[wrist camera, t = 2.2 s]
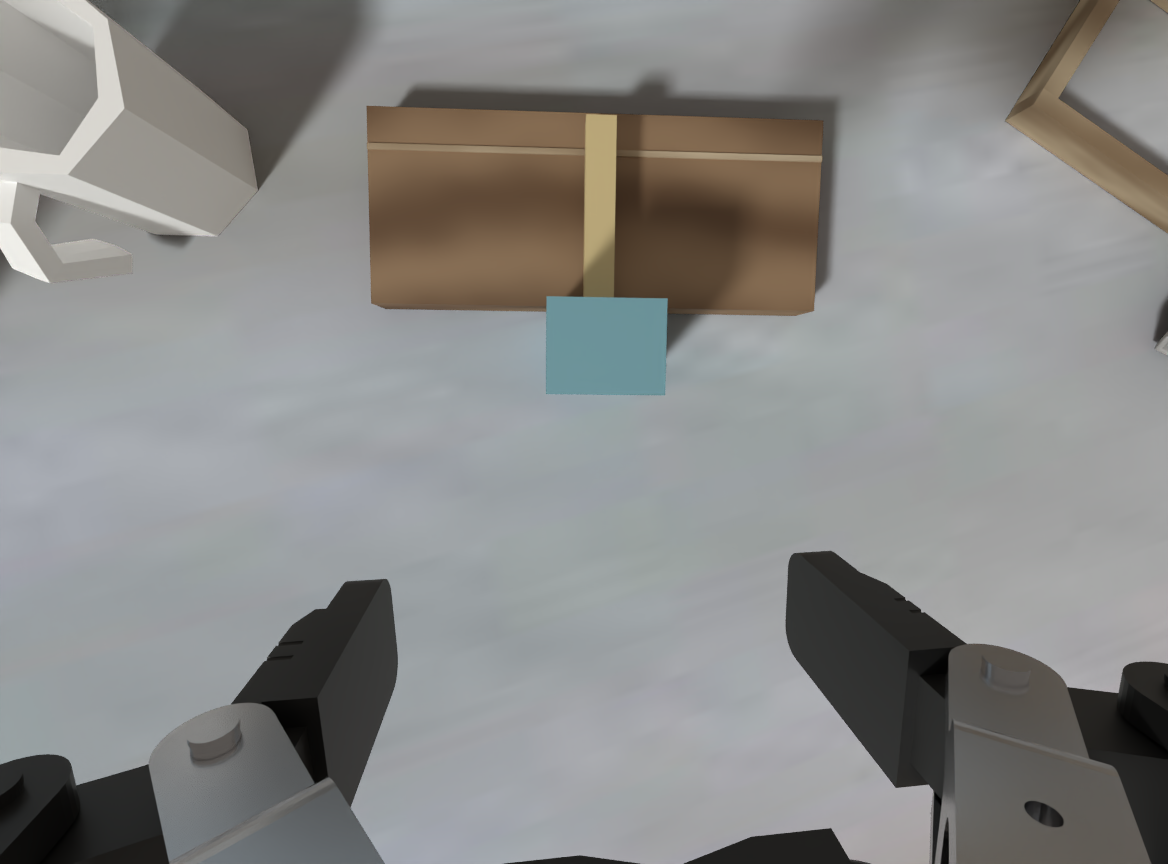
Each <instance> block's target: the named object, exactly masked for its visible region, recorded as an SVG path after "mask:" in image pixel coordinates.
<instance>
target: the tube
mask: <svg viewBox="0 0 1168 864" xmlns="http://www.w3.org/2000/svg"><path fill="white" fill-rule="evenodd" d="M1155 350H1157V351H1159V352H1161V353H1163V354H1165V355H1167V356H1168V332H1167V333H1166V334H1165V335H1164V336H1163V337H1162V338H1161V339H1160V340H1159V342H1158V343H1157V345H1156V347H1155Z"/></svg>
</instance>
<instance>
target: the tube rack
mask: <svg viewBox="0 0 1168 864" xmlns="http://www.w3.org/2000/svg"><path fill="white" fill-rule="evenodd" d="M1119 1H1120V0H1080V2H1079V3H1078V5H1077V6H1076V8H1075V10H1074V11H1073V13H1072V14H1071V16H1070V18H1069V19H1068V21H1067V22H1066V24H1065V26H1064V27H1063V29H1062V30H1061V32H1060V34H1059V35H1058V37H1057V38H1056V40H1055V42H1054V43H1053V45H1052V46H1051V48H1050V50H1049V51H1048V53H1047V54H1046V56H1045V58H1044V59H1043V61H1042V62H1041V64H1040V66H1039V67H1038V69H1037V71H1036V72H1035V74H1034V75H1033V77H1032V79H1031V80H1030V82H1029V83H1028V85H1027V87H1026V88H1025V90H1024V91H1023V93H1022V95H1021V96H1020V98H1019V99H1018V101H1017V103H1016V104H1015V106H1014V107H1013V109H1012V111H1011V112H1010V114H1009V115H1008V117H1007V119H1006V120H1005V121H1006V122H1007V123H1009V124H1010V125H1012V126H1013V127H1015V128H1016V129H1018V130H1019V131H1020V132H1022V133H1023V134H1025V135H1026V136H1028V137H1029V138H1031V139H1032V140H1033V141H1035V142H1036V143H1038V144H1039V145H1041V146H1042V147H1044V148H1045V149H1046V150H1048V151H1049V152H1051V153H1052V154H1054V155H1055V156H1057V157H1058V158H1059V159H1061V160H1062V161H1064V162H1065V163H1067V164H1068V165H1070V166H1071V167H1072V168H1074V169H1075V170H1077V171H1078V172H1080V173H1081V174H1083V175H1084V176H1085V177H1087V178H1088V179H1090V180H1091V181H1093V182H1094V183H1096V184H1097V185H1098V186H1100V187H1101V188H1103V189H1104V190H1106V191H1107V192H1109V193H1110V194H1111V195H1113V196H1114V197H1116V198H1117V199H1119V200H1120V201H1122V202H1123V203H1124V204H1126V205H1127V206H1129V207H1130V208H1132V209H1133V210H1135V211H1136V212H1137V213H1139V214H1140V215H1142V216H1143V217H1145V218H1146V219H1148V220H1149V221H1150V222H1152V223H1153V224H1155V225H1156V226H1158V227H1159V228H1161V229H1162V230H1163V231H1165V232H1166V233H1168V175H1166V174H1165V173H1163V172H1162V171H1161V170H1159V169H1158V168H1156V167H1155V166H1154V165H1152V164H1151V163H1149V162H1148V161H1146V160H1145V159H1144V158H1142V157H1141V156H1139V155H1138V154H1136V153H1135V152H1134V151H1132V150H1131V149H1129V148H1128V147H1127V146H1125V145H1124V144H1122V143H1121V142H1119V141H1118V140H1117V139H1115V138H1114V137H1112V136H1111V135H1109V134H1108V133H1107V132H1105V131H1104V130H1102V129H1101V128H1100V127H1098V126H1097V125H1095V124H1094V123H1092V122H1091V121H1090V120H1088V119H1087V118H1085V117H1084V116H1082V115H1081V114H1080V113H1078V112H1077V111H1075V110H1074V109H1072V108H1071V107H1070V106H1068V105H1067V104H1065V103H1064V102H1063V101H1061V100H1060V99H1058V98H1059V96H1060V95H1061V93H1062V91H1063V90H1064V88H1065V87H1066V85H1067V83H1068V82H1069V80H1070V79H1071V77H1072V75H1073V74H1074V72H1075V71H1076V69H1077V67H1078V66H1079V64H1080V63H1081V61H1082V59H1083V58H1084V56H1085V55H1086V53H1087V52H1088V50H1089V48H1090V47H1091V45H1092V44H1093V42H1094V40H1095V39H1096V37H1097V36H1098V34H1099V32H1100V31H1101V29H1102V28H1103V26H1104V24H1105V23H1106V21H1107V20H1108V18H1109V17H1110V15H1111V13H1112V12H1113V10H1114V9H1115V7H1116V5H1117V4H1118V2H1119ZM1150 1H1152V2H1153V3H1155V4H1156V5H1157V6H1159V7H1160V8H1161V9H1163V10H1164V11H1165V12H1167V13H1168V0H1150Z"/></svg>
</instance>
